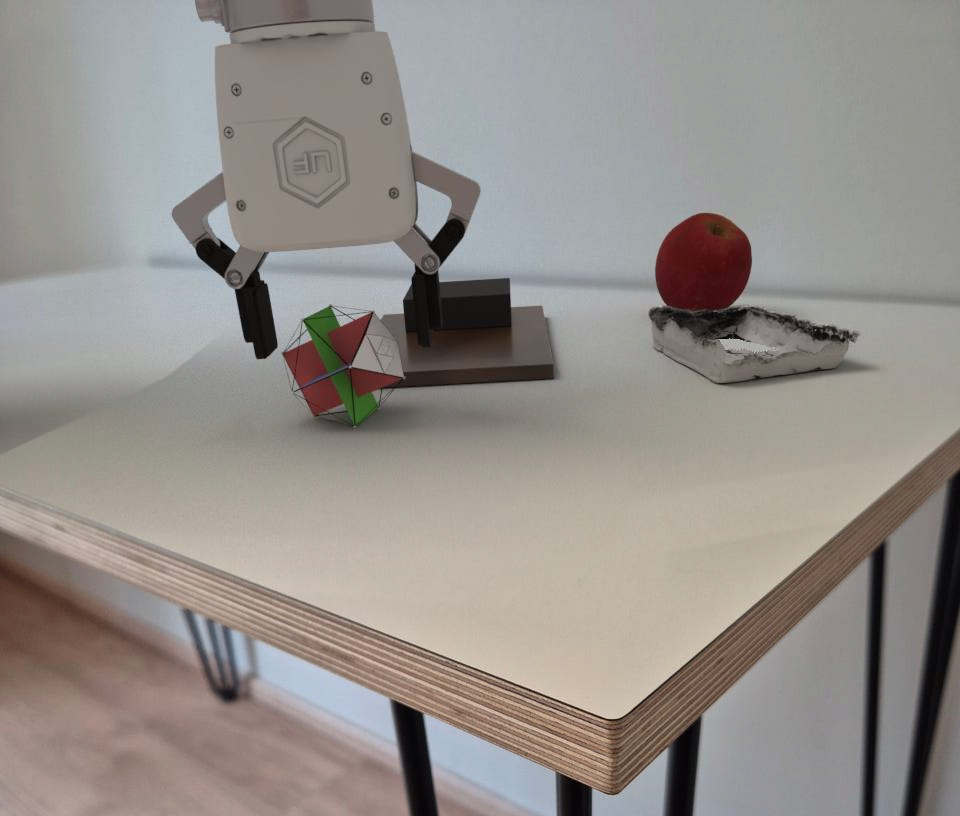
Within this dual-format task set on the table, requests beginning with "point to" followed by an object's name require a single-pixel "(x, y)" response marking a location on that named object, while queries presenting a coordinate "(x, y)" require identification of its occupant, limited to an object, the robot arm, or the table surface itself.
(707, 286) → the apple
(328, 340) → the geometric puzzle
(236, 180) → the robot arm
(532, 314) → the assembly board
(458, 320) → the black block
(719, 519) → the table surface
